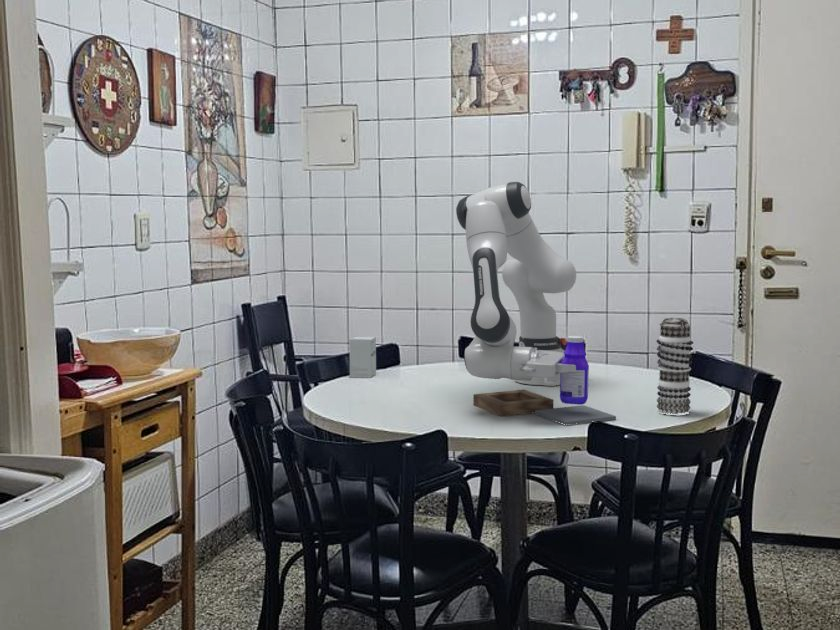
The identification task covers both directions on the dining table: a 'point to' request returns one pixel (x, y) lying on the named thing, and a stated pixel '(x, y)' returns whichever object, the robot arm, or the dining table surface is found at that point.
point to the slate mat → (575, 414)
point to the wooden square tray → (512, 402)
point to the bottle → (575, 373)
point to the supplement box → (362, 357)
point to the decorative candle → (674, 366)
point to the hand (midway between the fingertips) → (578, 365)
